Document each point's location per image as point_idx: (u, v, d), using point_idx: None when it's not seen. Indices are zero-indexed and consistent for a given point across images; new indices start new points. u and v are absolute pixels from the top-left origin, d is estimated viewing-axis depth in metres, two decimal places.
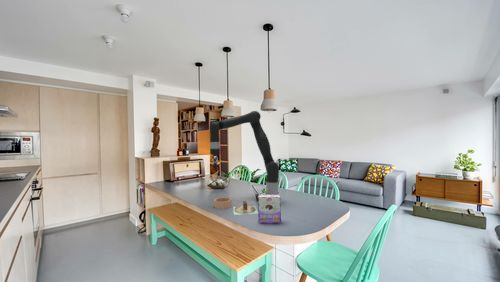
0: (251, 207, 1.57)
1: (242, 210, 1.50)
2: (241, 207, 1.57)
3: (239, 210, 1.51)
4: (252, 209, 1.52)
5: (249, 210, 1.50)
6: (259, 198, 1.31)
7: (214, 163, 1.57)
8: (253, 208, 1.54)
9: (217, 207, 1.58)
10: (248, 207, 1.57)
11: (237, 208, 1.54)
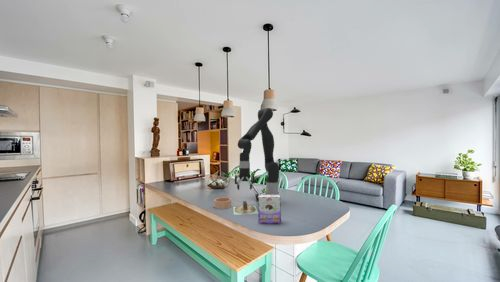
0: (251, 207, 1.57)
1: (242, 210, 1.50)
2: (241, 207, 1.57)
3: (239, 210, 1.51)
4: (252, 209, 1.52)
5: (249, 210, 1.50)
6: (259, 198, 1.31)
7: (254, 182, 1.54)
8: (253, 208, 1.54)
9: (217, 207, 1.58)
10: (248, 207, 1.57)
11: (237, 208, 1.54)
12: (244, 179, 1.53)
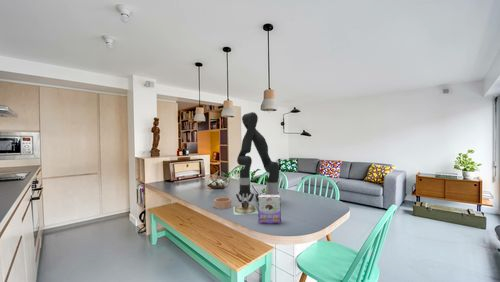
0: (251, 206, 1.57)
1: (242, 210, 1.50)
2: (241, 206, 1.57)
3: (239, 210, 1.50)
4: (252, 209, 1.52)
5: (249, 210, 1.50)
6: (259, 198, 1.31)
7: None
8: (253, 208, 1.54)
9: (217, 207, 1.58)
10: None
11: (237, 208, 1.54)
12: (244, 196, 1.53)
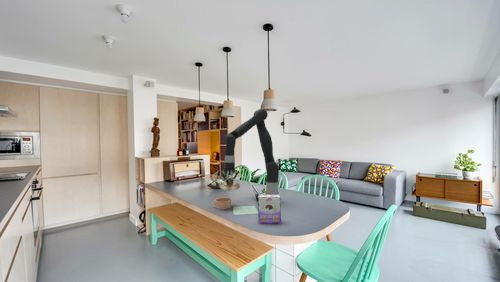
0: (236, 184, 1.62)
1: (226, 187, 1.55)
2: (226, 184, 1.62)
3: (223, 187, 1.55)
4: (236, 186, 1.57)
5: (233, 187, 1.55)
6: (259, 198, 1.31)
7: (235, 177, 1.60)
8: (237, 185, 1.59)
9: (217, 207, 1.58)
10: (233, 184, 1.62)
11: (222, 185, 1.59)
12: (229, 173, 1.58)
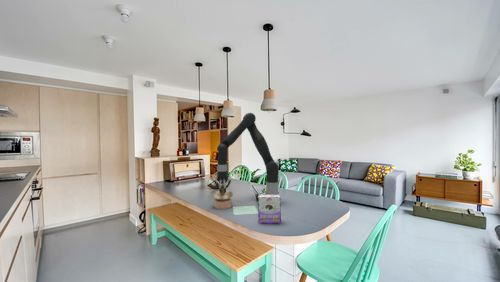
0: (228, 192, 1.65)
1: (219, 196, 1.59)
2: (219, 192, 1.66)
3: (216, 195, 1.59)
4: (229, 195, 1.61)
5: (226, 196, 1.59)
6: (259, 198, 1.31)
7: None
8: (230, 193, 1.63)
9: (217, 207, 1.58)
10: (226, 192, 1.66)
11: (215, 193, 1.63)
12: (222, 182, 1.62)
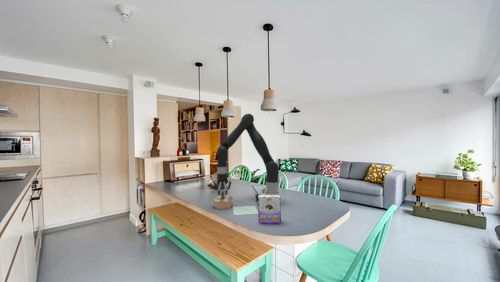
0: (229, 197, 1.66)
1: (219, 199, 1.60)
2: (219, 197, 1.66)
3: (216, 199, 1.60)
4: (229, 198, 1.61)
5: (226, 199, 1.59)
6: (259, 198, 1.31)
7: (229, 188, 1.63)
8: (230, 198, 1.64)
9: (217, 207, 1.58)
10: (226, 197, 1.66)
11: (215, 198, 1.64)
12: (222, 184, 1.62)
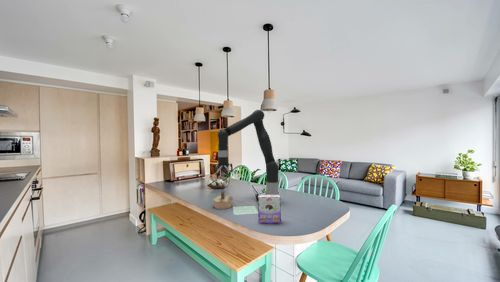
0: (229, 197, 1.66)
1: (219, 199, 1.60)
2: (219, 197, 1.66)
3: (216, 199, 1.60)
4: (229, 198, 1.61)
5: (226, 199, 1.59)
6: (259, 198, 1.31)
7: (232, 170, 1.64)
8: (230, 198, 1.64)
9: (217, 207, 1.58)
10: (226, 197, 1.66)
11: (215, 198, 1.64)
12: (223, 167, 1.63)
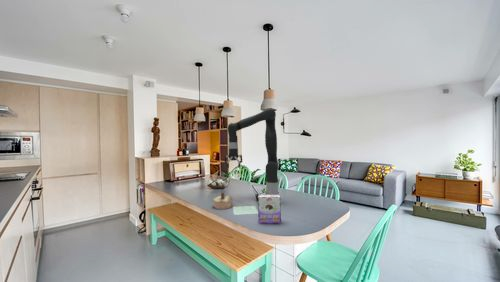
0: (229, 197, 1.66)
1: (219, 199, 1.60)
2: (219, 197, 1.66)
3: (216, 199, 1.60)
4: (229, 198, 1.61)
5: (226, 199, 1.59)
6: (259, 198, 1.31)
7: None
8: (230, 198, 1.64)
9: (217, 207, 1.58)
10: (226, 197, 1.66)
11: (215, 198, 1.64)
12: (233, 158, 1.73)
